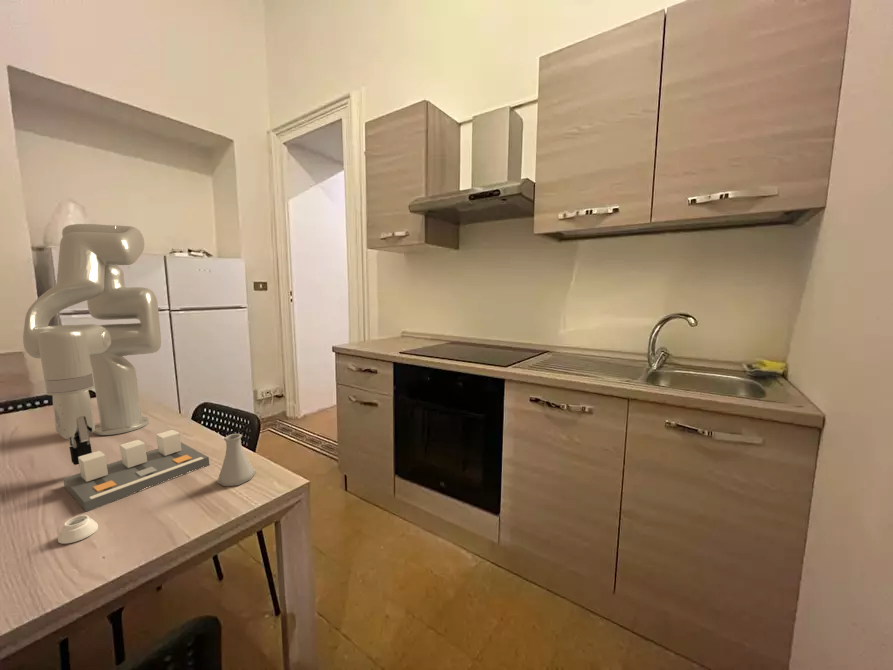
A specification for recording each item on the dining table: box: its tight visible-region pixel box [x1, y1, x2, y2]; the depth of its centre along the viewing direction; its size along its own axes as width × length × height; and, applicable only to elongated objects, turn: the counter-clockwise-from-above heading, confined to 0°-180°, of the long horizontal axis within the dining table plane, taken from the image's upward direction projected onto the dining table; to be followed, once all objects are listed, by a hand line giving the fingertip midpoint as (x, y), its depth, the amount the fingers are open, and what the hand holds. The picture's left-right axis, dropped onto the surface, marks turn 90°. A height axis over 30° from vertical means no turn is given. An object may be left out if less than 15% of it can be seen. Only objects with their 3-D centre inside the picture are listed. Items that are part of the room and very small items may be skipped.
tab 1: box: [78, 450, 108, 482], centre depth 80 cm, size 4×4×4 cm
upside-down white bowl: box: [57, 514, 99, 545], centre depth 65 cm, size 5×3×5 cm
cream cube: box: [155, 429, 182, 456], centre depth 92 cm, size 4×4×4 cm
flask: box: [216, 433, 257, 487], centre depth 83 cm, size 7×7×10 cm
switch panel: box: [63, 441, 210, 512], centre depth 85 cm, size 16×22×2 cm
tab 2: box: [119, 439, 147, 468], centre depth 86 cm, size 4×4×4 cm
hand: (82, 461), depth 85 cm, fingers closed
